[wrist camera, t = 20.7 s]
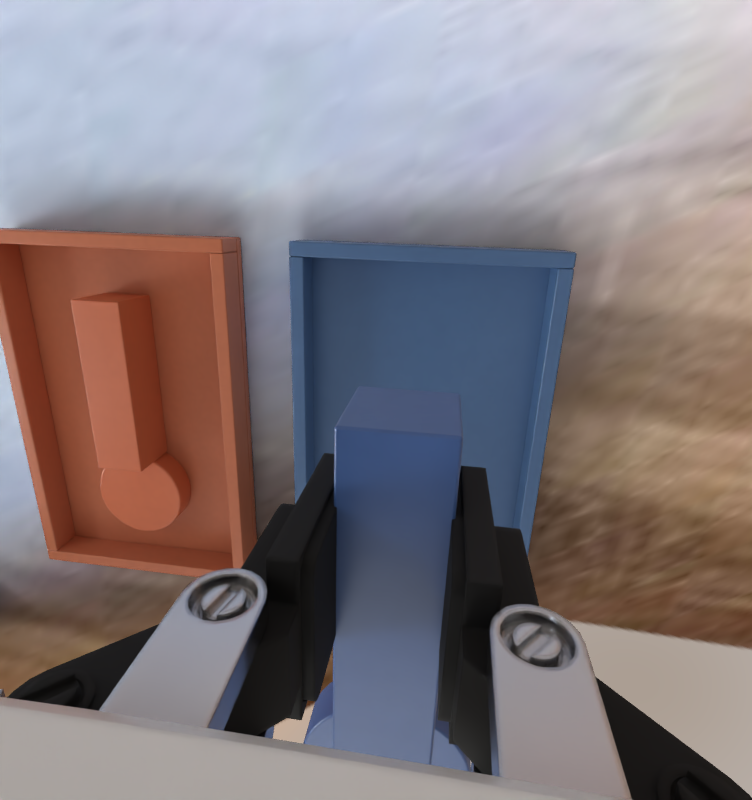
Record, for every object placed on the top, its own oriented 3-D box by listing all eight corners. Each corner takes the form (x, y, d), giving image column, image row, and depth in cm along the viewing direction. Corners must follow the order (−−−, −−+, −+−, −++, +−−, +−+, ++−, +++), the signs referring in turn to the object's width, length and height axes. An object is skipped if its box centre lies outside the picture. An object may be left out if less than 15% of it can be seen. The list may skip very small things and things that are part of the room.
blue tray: (302, 239, 22) (288, 240, 20) (565, 250, 20) (577, 252, 19) (306, 565, 27) (296, 589, 26) (513, 589, 26) (518, 617, 24)
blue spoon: (308, 381, 11) (271, 420, 9) (514, 396, 10) (532, 443, 8) (313, 770, 15) (289, 867, 13) (461, 795, 14) (464, 901, 12)
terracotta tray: (13, 228, 23) (-25, 228, 21) (241, 237, 22) (221, 238, 20) (74, 538, 29) (49, 559, 27) (258, 559, 28) (244, 583, 26)
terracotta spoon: (84, 291, 23) (46, 298, 21) (172, 296, 23) (142, 303, 21) (119, 514, 27) (90, 540, 25) (195, 523, 27) (172, 549, 25)
